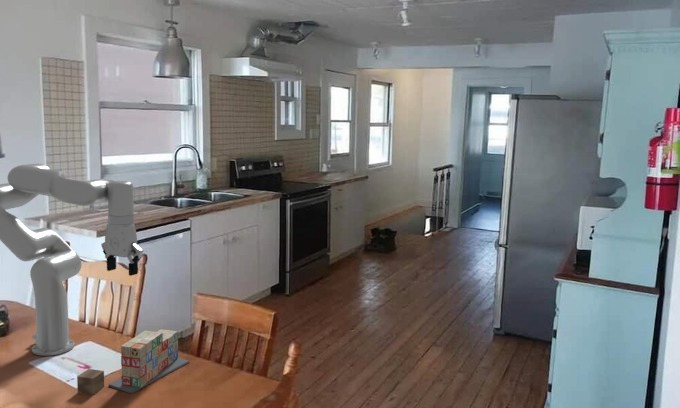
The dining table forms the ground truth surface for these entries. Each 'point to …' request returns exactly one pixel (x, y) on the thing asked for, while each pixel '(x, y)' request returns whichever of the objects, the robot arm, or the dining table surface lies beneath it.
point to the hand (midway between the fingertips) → (122, 272)
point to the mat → (173, 366)
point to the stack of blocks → (147, 356)
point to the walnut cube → (90, 381)
